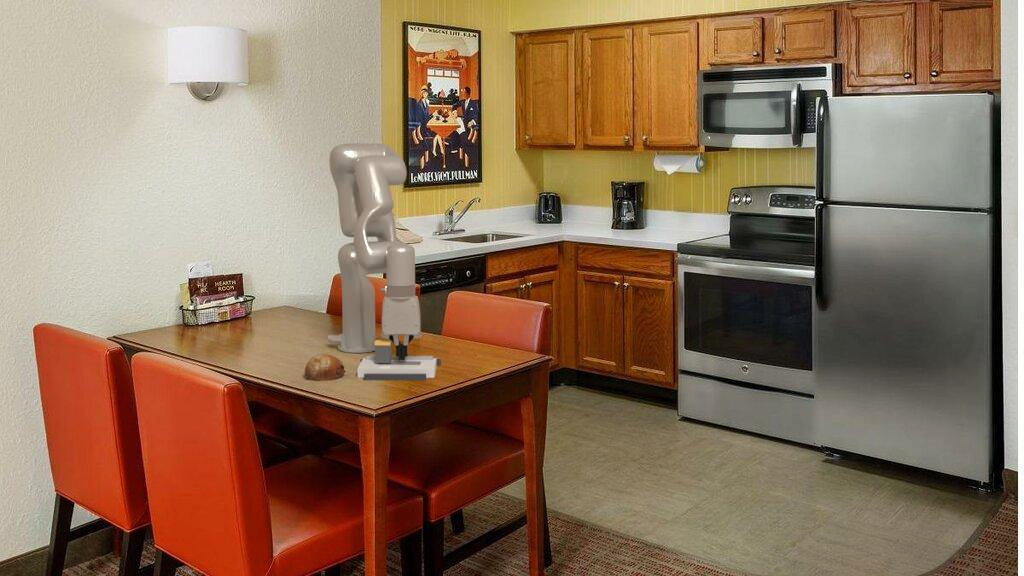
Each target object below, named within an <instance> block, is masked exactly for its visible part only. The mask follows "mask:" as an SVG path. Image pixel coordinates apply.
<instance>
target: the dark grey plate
mask: <svg viewBox="0 0 1024 576" xmlns="http://www.w3.org/2000/svg"><path fill="white" fill-rule="evenodd" d="M362 360H363V358H361V359H360V362H361V361H362ZM441 365H442V359H441V358H437V366H441ZM363 380H364V381H427V378H426V374H369V373H365V374H364V377H363Z"/></svg>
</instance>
